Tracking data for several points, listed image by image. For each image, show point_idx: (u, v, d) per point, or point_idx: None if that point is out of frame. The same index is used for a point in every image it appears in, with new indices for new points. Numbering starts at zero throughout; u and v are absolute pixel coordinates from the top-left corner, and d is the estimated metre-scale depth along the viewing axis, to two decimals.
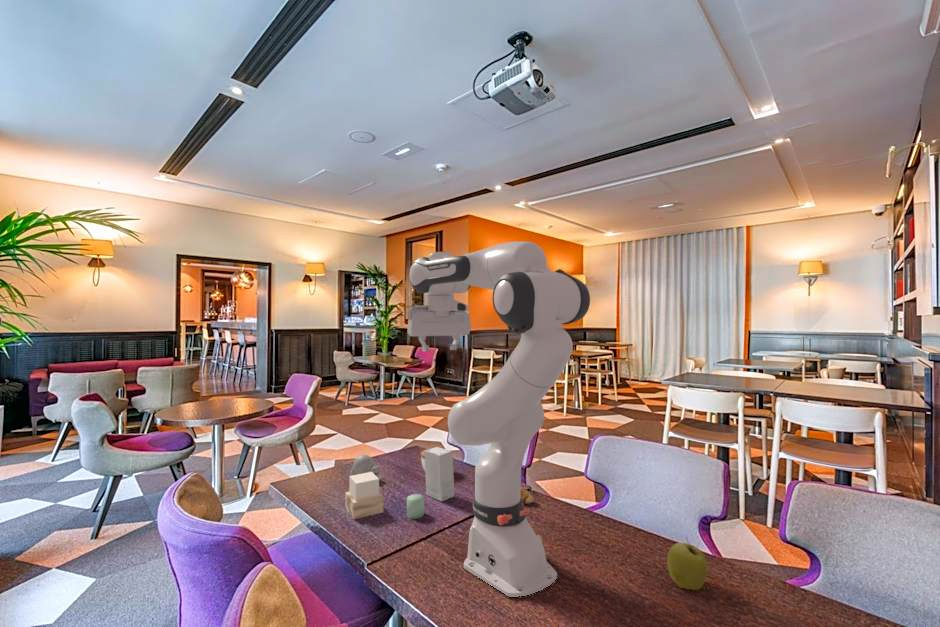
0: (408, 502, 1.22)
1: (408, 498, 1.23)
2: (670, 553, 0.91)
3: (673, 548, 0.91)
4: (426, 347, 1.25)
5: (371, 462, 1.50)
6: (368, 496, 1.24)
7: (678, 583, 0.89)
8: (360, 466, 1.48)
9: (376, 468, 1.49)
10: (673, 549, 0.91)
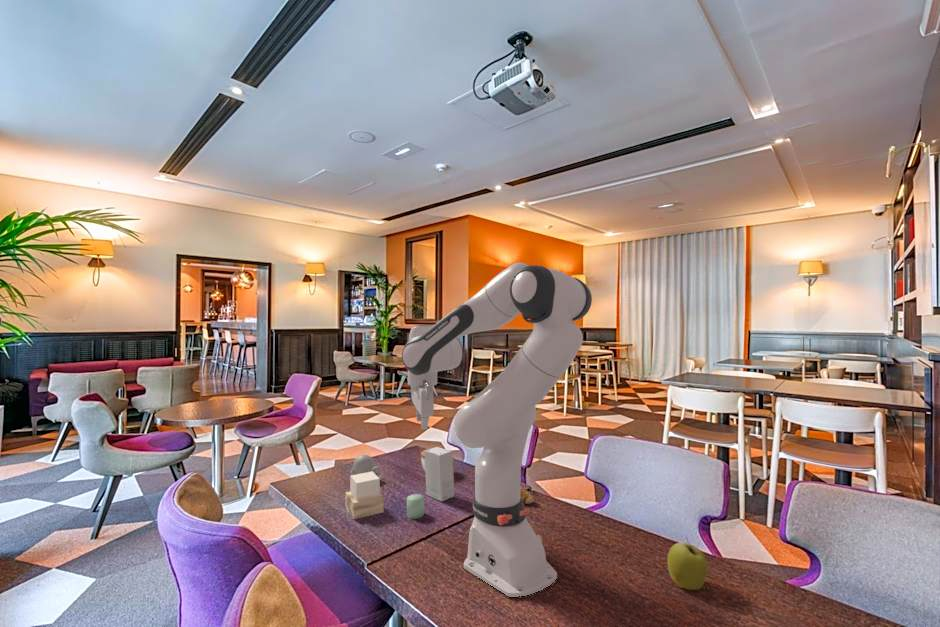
0: (408, 502, 1.22)
1: (408, 498, 1.23)
2: (670, 553, 0.91)
3: (673, 548, 0.91)
4: (427, 424, 1.21)
5: (371, 462, 1.50)
6: (369, 496, 1.24)
7: (678, 583, 0.89)
8: (360, 467, 1.48)
9: (376, 468, 1.49)
10: (673, 549, 0.91)
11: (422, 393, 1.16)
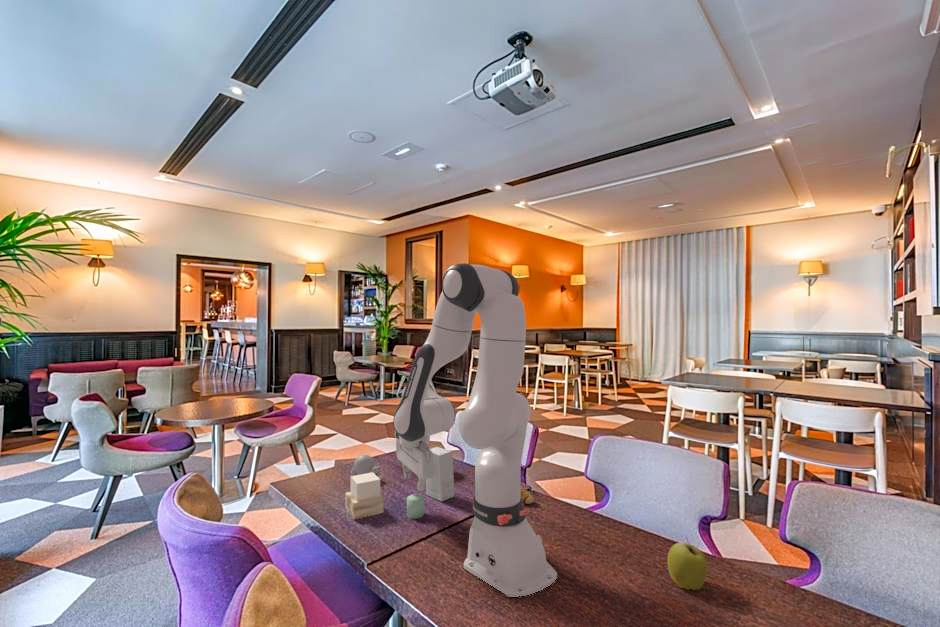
0: (408, 502, 1.22)
1: (408, 498, 1.23)
2: (670, 553, 0.91)
3: (673, 548, 0.91)
4: None
5: (372, 462, 1.50)
6: (369, 497, 1.24)
7: (678, 583, 0.89)
8: (360, 467, 1.48)
9: (377, 468, 1.49)
10: (673, 549, 0.91)
11: (423, 456, 1.16)
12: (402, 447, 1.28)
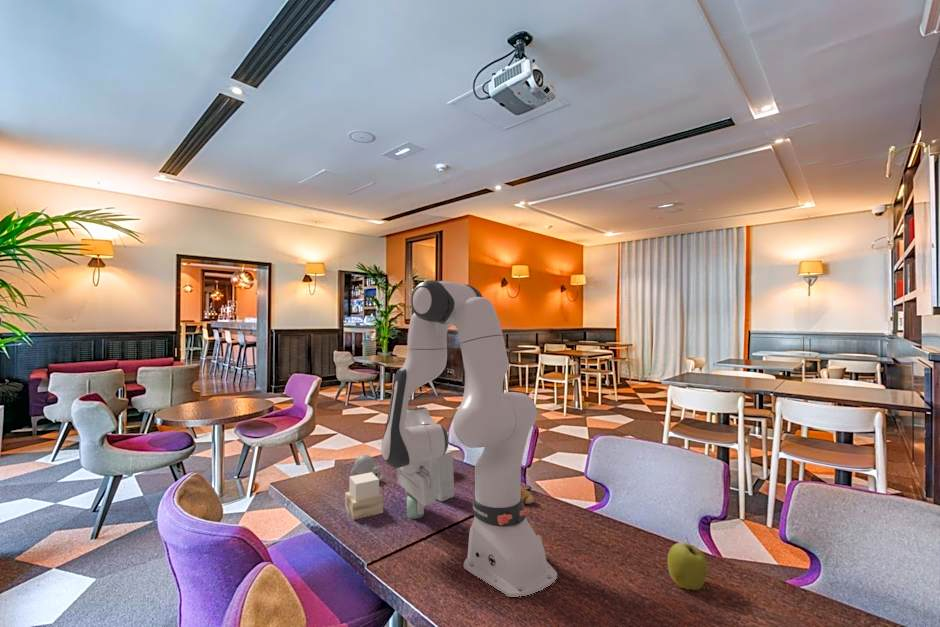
0: (408, 502, 1.22)
1: (408, 498, 1.23)
2: (670, 553, 0.91)
3: (673, 548, 0.91)
4: None
5: (372, 462, 1.50)
6: (368, 497, 1.24)
7: (678, 583, 0.89)
8: (361, 467, 1.48)
9: (377, 468, 1.49)
10: (673, 549, 0.91)
11: (424, 482, 1.15)
12: (403, 472, 1.28)
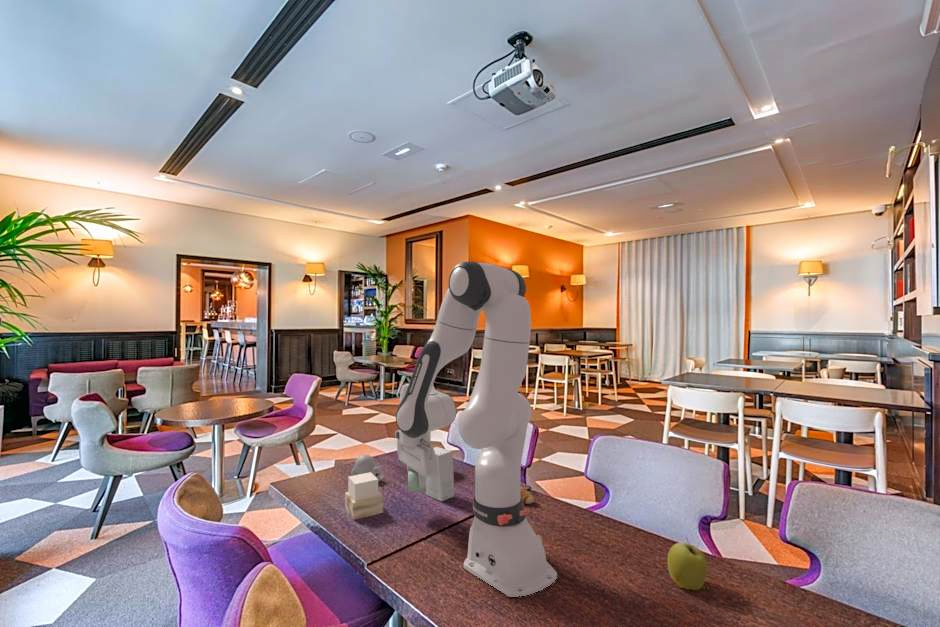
0: (409, 476, 1.22)
1: (409, 472, 1.23)
2: (670, 553, 0.91)
3: (673, 548, 0.91)
4: None
5: (372, 462, 1.50)
6: (367, 497, 1.24)
7: (678, 583, 0.89)
8: (361, 467, 1.48)
9: (377, 468, 1.49)
10: (673, 549, 0.91)
11: (424, 453, 1.15)
12: (403, 447, 1.28)
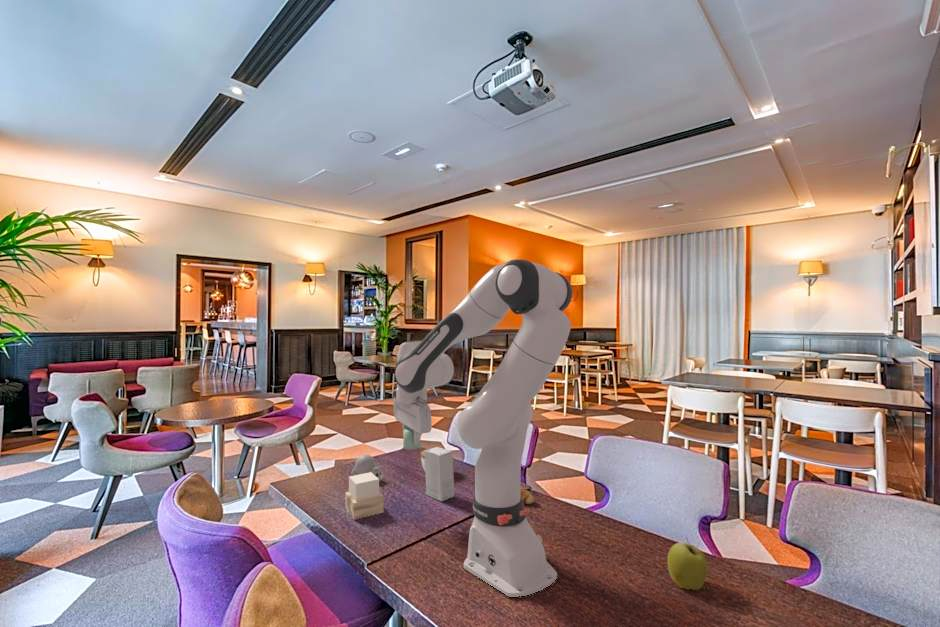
0: (405, 433, 1.23)
1: (405, 430, 1.24)
2: (670, 553, 0.91)
3: (673, 548, 0.91)
4: None
5: (373, 462, 1.50)
6: (368, 496, 1.24)
7: (678, 583, 0.89)
8: (362, 467, 1.48)
9: (378, 468, 1.49)
10: (673, 549, 0.91)
11: (420, 410, 1.16)
12: (400, 406, 1.29)
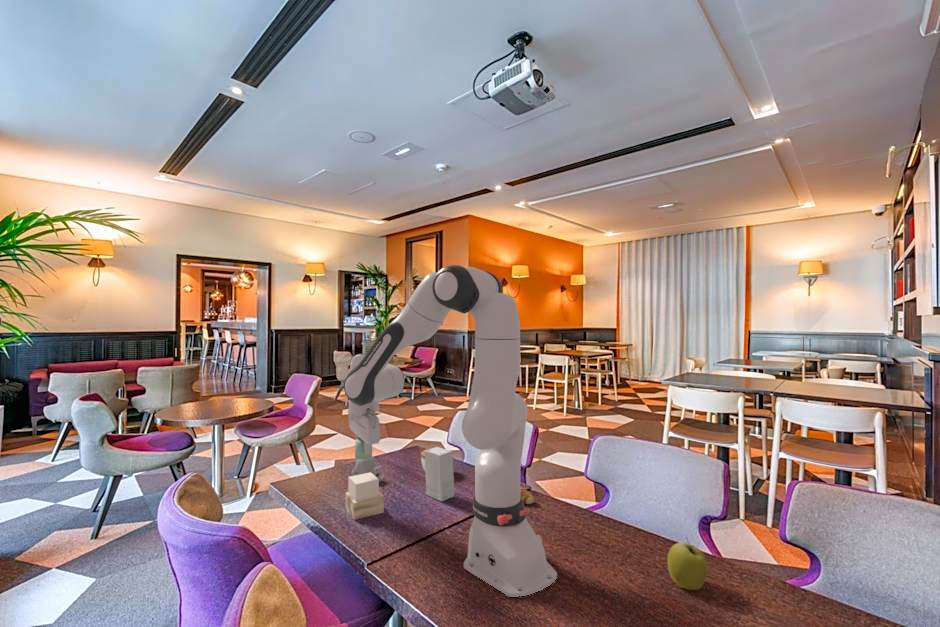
0: (356, 444, 1.25)
1: (356, 440, 1.27)
2: (670, 553, 0.91)
3: (673, 548, 0.91)
4: None
5: (373, 462, 1.50)
6: (368, 497, 1.24)
7: (678, 583, 0.89)
8: (362, 467, 1.48)
9: (378, 468, 1.49)
10: (673, 549, 0.91)
11: (369, 422, 1.19)
12: None
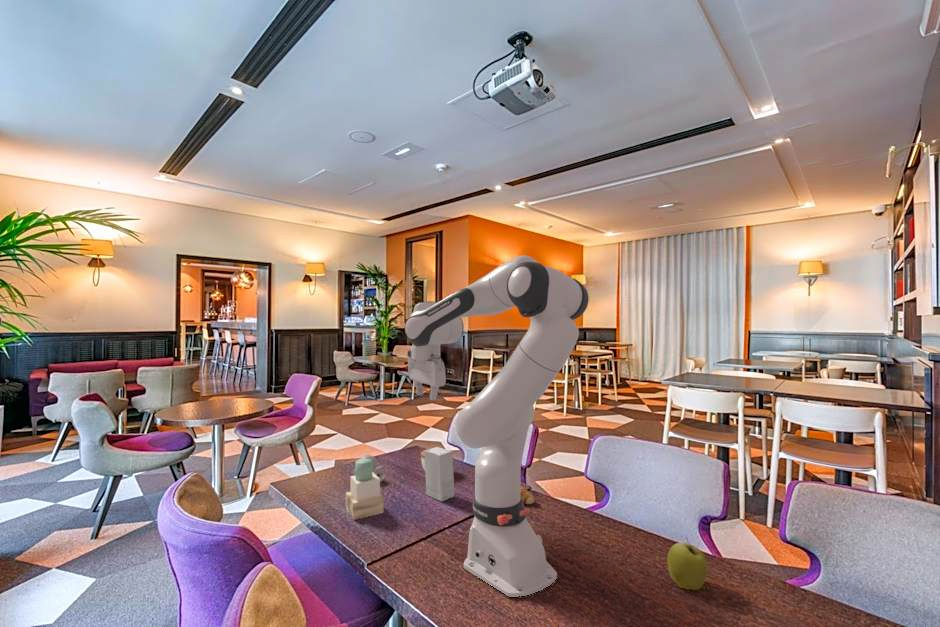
0: (356, 465, 1.25)
1: (357, 462, 1.26)
2: (670, 553, 0.91)
3: (673, 548, 0.91)
4: None
5: (374, 462, 1.50)
6: (369, 496, 1.24)
7: (678, 583, 0.89)
8: None
9: (379, 468, 1.48)
10: (673, 549, 0.91)
11: (435, 364, 1.23)
12: (414, 366, 1.36)
